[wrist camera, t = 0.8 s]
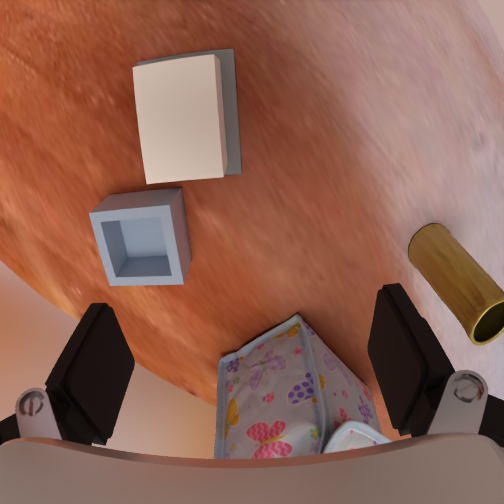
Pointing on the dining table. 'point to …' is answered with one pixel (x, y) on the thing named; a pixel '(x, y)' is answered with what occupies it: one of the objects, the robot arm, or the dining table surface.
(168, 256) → the open box
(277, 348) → the lunch bag
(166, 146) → the lid
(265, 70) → the dining table surface
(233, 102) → the mat
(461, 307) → the vase
